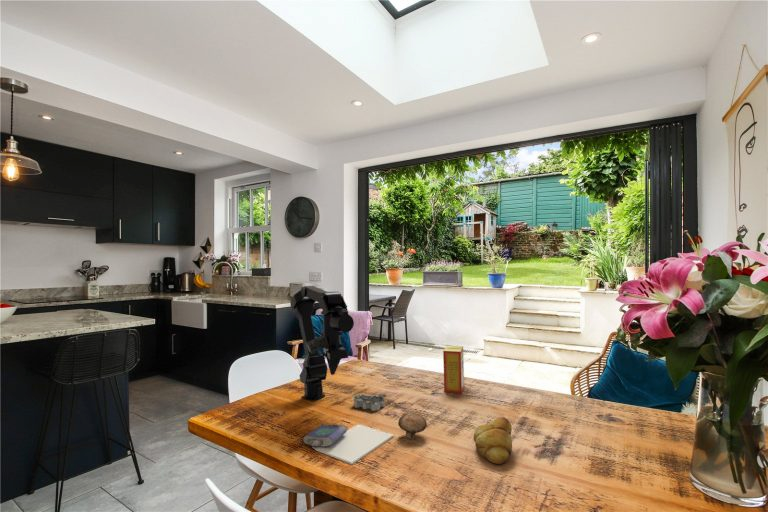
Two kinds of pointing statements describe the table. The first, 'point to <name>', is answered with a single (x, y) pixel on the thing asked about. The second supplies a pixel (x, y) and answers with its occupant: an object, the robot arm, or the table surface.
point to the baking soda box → (453, 369)
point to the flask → (324, 435)
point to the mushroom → (412, 424)
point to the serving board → (355, 444)
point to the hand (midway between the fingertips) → (332, 374)
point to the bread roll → (494, 440)
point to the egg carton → (369, 401)
